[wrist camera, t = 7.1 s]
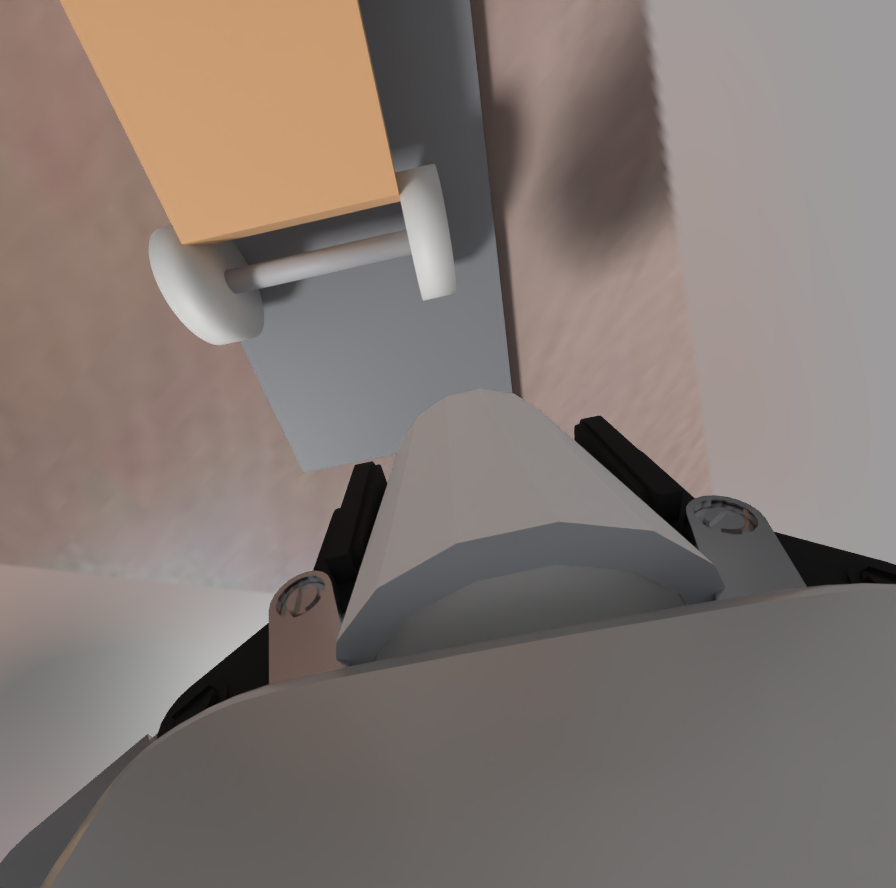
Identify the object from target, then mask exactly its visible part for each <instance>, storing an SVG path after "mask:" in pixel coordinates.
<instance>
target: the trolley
mask: <svg viewBox="0 0 896 888" xmlns="http://www.w3.org/2000/svg"><path fill="white" fill-rule="evenodd" d="M60 2H61V4H62V6H63V8H64V10H65V12H66V14H67V16H68V18H69V20H70V22H71V24H72V26H73V28H74V30H75V32H76V34H77V36H78V38H79V40H80V42H81V44H82V46H83V48H84V50H85V52H86V54H87V56H88V58H89V60H90V62H91V64H92V66H93V68H94V70H95V72H96V74H97V76H98V78H99V80H100V82H101V84H102V86H103V88H104V90H105V92H106V94H107V96H108V98H109V100H110V102H111V104H112V106H113V108H114V110H115V112H116V114H117V116H118V118H119V120H120V122H121V124H122V126H123V128H124V130H125V132H126V134H127V136H128V138H129V140H130V142H131V144H132V146H133V148H134V150H135V152H136V154H137V156H138V158H139V160H140V162H141V164H142V166H143V168H144V170H145V172H146V174H147V176H148V178H149V180H150V182H151V184H152V186H153V188H154V190H155V192H156V194H157V196H158V198H159V200H160V202H161V204H162V206H163V208H164V210H165V212H166V214H167V216H168V218H169V220H170V222H171V224H172V225H168V226H164V227H160V228H157V229H156V230H155V231H154V232H153V233H152V235H151V237H150V241H149V258H150V263H151V267H152V271H153V274H154V277H155V279H156V282H157V284H158V286H159V288H160V290H161V292H162V294H163V296H164V298H165V299H166V301H167V303H168V304H169V306H170V307H171V309H172V310H173V312H174V313H175V314H176V315H177V317H178V318H179V319H180V320H181V321H182V323H183V324H184V325H185V326H186V327H187V328H188V329H189V330H190V331H192V332H193V333H194V334H195V335H197V336H198V337H199V338H201V339H203V340H204V341H206V342H208V343H211V344H215V345H224V344H228V343H233V342H237V341H242V340H247V339H251V338H255V337H257V336H259V335H260V334H261V332H262V330H263V327H264V308H263V302H262V298H261V295H260V291H259V289H261V288H265V287H270V286H274V285H279V284H283V283H288V282H292V281H297V280H301V279H306V278H310V277H314V276H319V275H323V274H328V273H332V272H337V271H341V270H346V269H350V268H355V267H359V266H364V265H368V264H372V263H377V262H381V261H386V260H390V259H395V258H399V257H404V256H408V255H412V257H413V262H414V266H415V271H416V275H417V279H418V284H419V288H420V292H421V296H422V299H423V301H425V300H429V299H434V298H438V297H443V296H447V295H452V294H456V276H455V267H454V259H453V252H452V245H451V239H450V233H449V227H448V221H447V215H446V210H445V204H444V199H443V194H442V189H441V185H440V180H439V176H438V172H437V169H436V166H435V164H430V165H426V166H421V167H417V168H413V169H408V170H404V171H400V172H396V173H395V168H394V163H393V159H392V154H391V149H390V145H389V140H388V136H387V131H386V126H385V122H384V117H383V112H382V108H381V103H380V98H379V94H378V89H377V84H376V80H375V75H374V70H373V66H372V61H371V56H370V52H369V47H368V42H367V38H366V33H365V28H364V24H363V19H362V14H361V10H360V5H359V0H60ZM399 201H401V206H402V211H403V215H404V220H405V225H406V230H402V231H397V232H393V233H388V234H384V235H380V236H375V237H371V238H366V239H362V240H358V241H353V242H349V243H344V244H340V245H336V246H331V247H327V248H322V249H318V250H314V251H309V252H305V253H300V254H296V255H291V256H287V257H283V258H278V259H274V260H269V261H265V262H261V263H256V264H252V265H248V264H247V262H246V260H245V258H244V257H243V255H242V254H241V252H240V251H239V249H238V248H237V246H236V245H235V244H234V242H233V241H232V240H234V239H239V238H243V237H247V236H252V235H256V234H260V233H265V232H269V231H273V230H278V229H282V228H286V227H291V226H295V225H299V224H304V223H308V222H313V221H317V220H321V219H326V218H330V217H334V216H339V215H343V214H347V213H352V212H356V211H360V210H365V209H369V208H373V207H378V206H382V205H386V204H391V203H395V202H399Z"/></svg>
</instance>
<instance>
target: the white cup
mask: <svg viewBox="0 0 896 888" xmlns="http://www.w3.org/2000/svg"><path fill="white" fill-rule="evenodd" d="M723 589H725V586H724V584H723V582H722V579H721V577H720V575H719V573H718V571H717V568H716V566H715V565H714V564H713V563H712V562H711V561H710V560H709V559H708V558H706V557H705V556H704V555H703V554H702V553H701V552H700V551H699V550H697V549H696V548H695V547H694V546H693V545H692V544H691V543H690V542H688V541H687V540H686V539H685V538H684V537H683V536H682V535H681V534H679V533H678V532H677V531H676V530H675V529H674V528H673V527H671V526H670V525H669V524H668V523H667V522H666V521H665V520H664V519H662V518H661V517H660V516H659V515H658V514H657V513H656V512H655V511H653V510H652V509H651V508H650V507H649V506H648V505H647V504H646V503H644V502H643V501H642V500H641V499H640V498H639V497H638V496H637V495H635V494H634V493H633V492H632V491H631V490H630V489H629V488H628V487H626V486H625V485H624V484H623V483H622V482H621V481H620V480H619V479H617V478H616V477H615V476H614V475H613V474H612V473H611V472H610V471H608V470H607V469H606V468H605V467H604V466H603V465H602V464H601V463H599V462H598V461H597V460H596V459H595V458H594V457H593V456H592V455H590V454H589V453H588V452H587V451H586V450H585V449H584V448H583V447H581V446H580V445H579V444H578V443H577V442H576V441H575V440H574V439H572V438H571V437H570V436H569V435H568V434H567V433H566V432H564V431H563V430H562V429H561V428H560V427H559V426H558V425H557V424H555V423H554V422H553V421H552V420H551V419H550V418H549V417H548V416H546V415H545V414H544V413H543V412H542V411H541V410H539V409H538V408H536V407H535V406H533V405H531V404H530V403H528V402H527V401H525V400H523V399H522V398H520V397H519V396H517V395H515V394H513V393H506V392H500V391H493V390H486V389H476V390H472V391H468V392H463V393H459V394H455V395H451V396H446V397H444V398H443V399H441V400H440V401H439V402H437V403H436V404H434V405H433V406H431V407H430V408H428V409H427V410H425V411H424V412H423V413H421V414H420V415H418V416H417V418H416V419H415V421H414V422H413V424H412V425H411V427H410V429H409V430H408V432H407V433H406V435H405V436H404V438H403V440H402V441H401V443H400V446H399V449H398V452H397V455H396V459H395V462H394V465H393V468H392V471H391V474H390V477H389V480H388V483H387V486H386V490H385V493H384V496H383V499H382V502H381V505H380V508H379V511H378V514H377V517H376V521H375V524H374V527H373V530H372V533H371V536H370V539H369V542H368V545H367V549H366V552H365V555H364V558H363V561H362V564H361V567H360V570H359V573H358V576H357V580H356V583H355V586H354V589H353V592H352V595H351V598H350V601H349V604H348V607H347V611H346V614H345V617H344V620H343V623H342V626H341V629H340V632H339V635H338V638H337V642H336V659H341V660H349V662H350V664H351V666H354V665H359V664H364V663H369V662H374V661H380V660H385V659H391V658H396V657H401V656H407V655H412V654H418V653H423V652H428V651H434V650H439V649H445V648H450V647H455V646H461V645H466V644H472V643H477V642H483V641H488V640H494V639H499V638H505V637H510V636H516V635H522V634H527V633H533V632H538V631H544V630H549V629H555V628H561V627H566V626H572V625H577V624H583V623H589V622H594V621H600V620H606V619H611V618H617V617H623V616H629V615H634V614H640V613H646V612H652V611H657V610H663V609H669V608H675V607H680V606H686V605H692V604H698V603H703V602H709V601H713V596H714V593H715V592H718V591H720V590H723Z"/></svg>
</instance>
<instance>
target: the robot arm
mask: <svg viewBox="0 0 896 888" xmlns="http://www.w3.org/2000/svg"><path fill="white" fill-rule="evenodd" d="M574 434H575V441H576V442H577V443H578V444H579V445H580V446H581V447H583V448H584V449H585V450H586V451H587V452H588V453H589V454H590V455H592V456H593V457H594V458H595V459H596V460H597V461H598V462H599V463H601V464H602V465H603V466H604V467H605V468H606V469H607V470H608V471H610V472H611V473H612V474H613V475H614V476H615V477H616V478H617V479H619V480H620V481H621V482H622V483H623V484H624V485H625V486H626V487H628V488H629V489H630V490H631V491H632V492H633V493H634V494H635V495H637V496H638V497H639V498H640V499H641V500H642V501H643V502H644V503H646V504H647V505H648V506H649V507H650V508H651V509H652V510H653V511H655V512H656V513H657V514H658V515H659V516H660V517H661V518H662V519H664V520H665V521H666V522H667V523H668V524H669V525H670V526H671V527H673V528H674V529H675V530H676V531H677V532H678V533H679V534H681V535H682V536H683V537H684V538H685V539H686V540H687V541H688V542H690V543H691V544H692V545H693V546H694V547H695V548H696V549H697V550H699V551H700V552H701V553H702V554H703V555H704V556H705V557H706V558H708V559H709V560H710V561H711V562H712V563H713V564H714V565H715V566H716V568H717V571H718V573H719V575H720V577H721V579H722V582H723V584H724V586H725V589H723V590H720V591H718V592H715V593H714V596H713V601H709V602H703V603H698V604H692V605H686V606H680V607H675V608H669V609H663V610H657V611H652V612H646V613H640V614H634V615H629V616H623V617H617V618H611V619H606V620H600V621H594V622H589V623H583V624H577V625H572V626H566V627H561V628H555V629H549V630H544V631H538V632H533V633H527V634H522V635H516V636H510V637H505V638H499V639H494V640H488V641H483V642H477V643H472V644H466V645H461V646H455V647H450V648H445V649H439V650H434V651H428V652H423V653H418V654H412V655H407V656H401V657H396V658H391V659H385V660H380V661H374V662H369V663H364V664H359V665H354V666H351V664H350V662H349V660H341V659H336V642H337V638H338V635H339V632H340V629H341V626H342V623H343V620H344V617H345V614H346V611H347V607H348V604H349V601H350V598H351V595H352V592H353V589H354V586H355V583H356V580H357V576H358V573H359V570H360V567H361V564H362V561H363V558H364V555H365V552H366V549H367V545H368V542H369V539H370V536H371V533H372V530H373V527H374V524H375V521H376V517H377V514H378V511H379V508H380V505H381V502H382V499H383V496H384V493H385V490H386V486H387V482H386V479H385V476H384V473H383V470H382V467H381V465H380V464H379V465H375V464H374V462H373V461H372V462H367V463H362V464H357V465H355V466H354V469H353V472H352V475H351V478H350V481H349V484H348V487H347V490H346V493H345V496H344V499H343V502H342V505H341V508H338V509H336V510H335V511H334V513H333V516H332V518H331V521H330V524H329V527H328V530H327V533H326V535H325V538H324V541H323V544H322V547H321V550H320V552H319V555H318V558H317V561H316V564H315V567H314V570H313V571H309V572H305V573H302V574H300V575H297V576H296V577H294V578H292V579H291V580H289V581H288V582H287V583H285V584H284V585H283V586H282V587H281V588H280V589H279V590H278V592H277V593H276V594H275V595H274V597H273V599H272V601H271V603H270V608H269V623H268V624H267V625H265V626H264V627H263V628H262V629H261V630H259V631H258V632H257V633H256V634H255V635H253V636H252V637H251V638H250V639H248V640H247V641H246V642H245V643H243V644H242V645H241V646H240V647H239V648H237V649H236V650H235V651H234V652H232V653H231V654H230V655H229V656H228V657H226V658H225V659H224V660H223V661H221V662H220V663H219V664H218V665H217V666H215V667H214V668H213V669H212V670H210V671H209V672H208V673H207V674H206V675H204V676H203V677H202V678H201V679H199V680H198V681H197V682H196V683H194V684H193V685H192V686H191V687H190V688H189V689H187V691H185V692H184V693H183V694H182V695H181V696H180V697H179V698H178V699H177V701H176V702H175V703H174V704H173V706H172V707H171V708H170V709H169V711H168V712H167V714H166V716H165V718H164V719H163V721H162V723H161V726H160V729H159V732H158V734H156V735H155V736H154V737H153V738H152V737H151V736H150V735H148V734H147V735H146V736H145V737H143V738H142V739H141V740H140V741H139V742H137V743H136V744H135V745H134V746H133V747H131V748H130V749H129V750H128V751H127V752H125V753H124V754H123V755H122V756H121V757H119V758H118V759H117V760H116V761H115V762H113V763H112V764H111V765H110V766H109V767H107V768H106V769H105V770H104V771H103V772H102V773H100V774H99V775H98V776H97V777H95V778H94V779H93V780H92V781H91V782H89V783H88V784H87V785H86V786H85V787H83V788H82V789H81V790H80V791H79V792H77V793H76V794H75V795H74V796H73V797H71V798H70V799H69V800H68V801H67V802H65V803H64V804H63V805H62V806H61V807H59V808H58V809H57V810H56V811H55V812H53V813H52V814H51V815H50V816H49V817H47V818H46V819H45V820H44V821H43V822H41V823H40V824H39V825H38V826H37V827H35V828H34V829H33V830H32V831H31V832H29V834H27V835H26V836H25V837H24V838H23V839H22V840H21V841H20V842H19V843H18V844H17V845H16V846H15V847H14V848H13V849H12V850H11V851H10V852H9V853H8V854H7V856H6V857H5V858H4V859H3V861H2V862H1V863H0V888H896V565H894V564H891V563H888V562H885V561H881V560H877V559H874V558H870V557H866V556H863V555H859V554H855V553H851V552H848V551H844V550H840V549H836V548H833V547H829V546H825V545H821V544H818V543H814V542H810V541H806V540H803V539H799V538H795V537H791V536H788V535H784V534H780V533H777V532H773V530H772V528H771V527H770V525H769V523H768V522H767V520H766V518H765V517H764V516H763V515H762V514H761V513H760V512H759V511H758V510H757V509H755V508H754V507H752V506H751V505H749V504H747V503H744V502H742V501H740V500H736V499H732V498H729V497H723V496H715V495H714V496H702V497H698V498H694V497H692V496H691V495H690V494H689V493H688V492H687V491H686V490H685V489H684V488H682V487H681V486H680V485H679V484H678V483H677V482H676V481H675V480H673V479H672V478H671V477H670V476H669V475H668V474H667V473H666V472H664V471H663V470H662V469H661V468H660V467H659V466H658V465H657V464H655V463H654V462H653V461H652V460H651V459H650V458H649V457H648V456H647V455H645V454H644V453H643V452H642V451H640V450H638V449H637V448H636V447H635V446H634V445H633V444H632V443H631V442H629V441H628V440H627V439H626V438H625V437H624V436H623V435H622V434H621V433H619V432H618V431H617V430H616V429H615V428H614V427H613V426H612V425H610V424H609V423H608V422H607V421H606V420H605V419H604V418H603V417H601V416H595V417H590V418H585V419H581V420H580V424H578V425H575V429H574Z"/></svg>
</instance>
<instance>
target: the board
mask: <svg viewBox="0 0 896 888" xmlns="http://www.w3.org/2000/svg"><path fill="white" fill-rule="evenodd" d="M359 5H360V10H361V14H362V19H363V24H364V28H365V33H366V38H367V42H368V47H369V52H370V56H371V61H372V66H373V70H374V75H375V80H376V84H377V89H378V94H379V98H380V103H381V108H382V112H383V117H384V122H385V126H386V131H387V136H388V140H389V145H390V149H391V154H392V159H393V163H394V168H395V173H396V172H400V171H404V170H408V169H413V168H417V167H421V166H426V165H430V164H435V166H436V169H437V172H438V176H439V180H440V185H441V189H442V194H443V199H444V204H445V210H446V215H447V221H448V227H449V233H450V239H451V245H452V252H453V259H454V267H455V276H456V294H452V295H447V296H443V297H438V298H434V299H429V300H425V301H423V299H422V296H421V292H420V288H419V284H418V279H417V275H416V271H415V266H414V262H413V257H412V255H408V256H404V257H399V258H395V259H390V260H386V261H381V262H377V263H372V264H368V265H364V266H359V267H355V268H350V269H346V270H341V271H337V272H332V273H328V274H323V275H319V276H314V277H310V278H306V279H301V280H297V281H292V282H288V283H283V284H279V285H274V286H270V287H265V288H261V289H259V291H260V295H261V298H262V302H263V308H264V327H263V330H262V332H261V334H260V335H259V336H257V337H255V338H251V339H247V340H242V341H240V343H241V345H242V347H243V349H244V351H245V353H246V355H247V357H248V360H249V362H250V364H251V366H252V368H253V370H254V372H255V374H256V376H257V378H258V380H259V382H260V384H261V386H262V388H263V390H264V392H265V394H266V397H267V399H268V401H269V403H270V405H271V407H272V409H273V411H274V413H275V415H276V417H277V419H278V421H279V423H280V425H281V427H282V429H283V431H284V433H285V436H286V438H287V440H288V442H289V444H290V446H291V448H292V450H293V452H294V454H295V456H296V458H297V460H298V462H299V464H300V466H301V468H302V470H303V473H304V472H309V471H314V470H319V469H324V468H329V467H334V466H339V465H343V464H348V463H353V462H358V461H363V460H368V459H373V458H378V457H383V456H388V455H393V454H397V452H398V449H399V446H400V443H401V441H402V440H403V438H404V436H405V435H406V433H407V432H408V430H409V429H410V427H411V425H412V424H413V422H414V421H415V419H416V418H417V416H418V415H420V414H421V413H423V412H424V411H425V410H427V409H428V408H430V407H431V406H433V405H434V404H436V403H437V402H439V401H440V400H441V399H443V398H444V397H446V396H451V395H455V394H459V393H463V392H468V391H472V390H476V389H486V390H493V391H500V392H506V393H512V385H511V376H510V367H509V358H508V349H507V339H506V330H505V321H504V312H503V303H502V293H501V284H500V275H499V266H498V257H497V247H496V238H495V229H494V220H493V210H492V201H491V192H490V183H489V174H488V164H487V155H486V146H485V137H484V128H483V118H482V109H481V100H480V91H479V81H478V72H477V63H476V54H475V45H474V35H473V26H472V17H471V8H470V0H359ZM402 230H406V225H405V220H404V215H403V211H402V206H401V201H399V202H395V203H391V204H386V205H382V206H378V207H373V208H369V209H365V210H360V211H356V212H352V213H347V214H343V215H339V216H334V217H330V218H326V219H321V220H317V221H313V222H308V223H304V224H299V225H295V226H291V227H286V228H282V229H278V230H273V231H269V232H265V233H260V234H256V235H252V236H247V237H243V238H239V239H234V240H232V241H233V242H234V244H235V245H236V246H237V248H238V249H239V251H240V252H241V254H242V255H243V257H244V258H245V260H246V262H247V264H248V265H252V264H256V263H261V262H265V261H269V260H274V259H278V258H283V257H287V256H291V255H296V254H300V253H305V252H309V251H314V250H318V249H322V248H327V247H331V246H336V245H340V244H344V243H349V242H353V241H358V240H362V239H366V238H371V237H375V236H380V235H384V234H388V233H393V232H397V231H402Z"/></svg>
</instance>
